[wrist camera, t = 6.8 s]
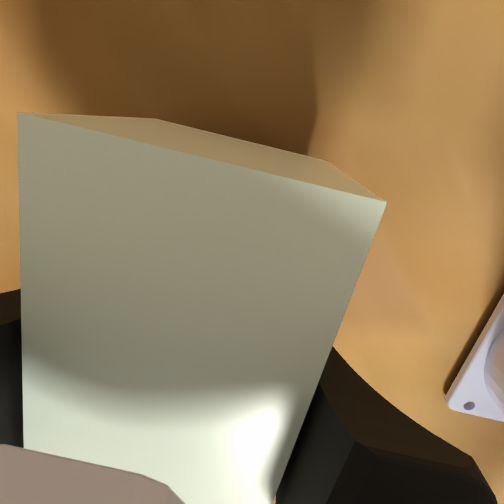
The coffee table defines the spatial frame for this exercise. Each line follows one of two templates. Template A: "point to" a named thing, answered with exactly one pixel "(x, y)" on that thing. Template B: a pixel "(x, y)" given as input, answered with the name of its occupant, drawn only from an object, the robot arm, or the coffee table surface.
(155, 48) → the coffee table surface
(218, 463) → the pale green block
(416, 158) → the coffee table surface
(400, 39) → the coffee table surface
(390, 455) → the robot arm
